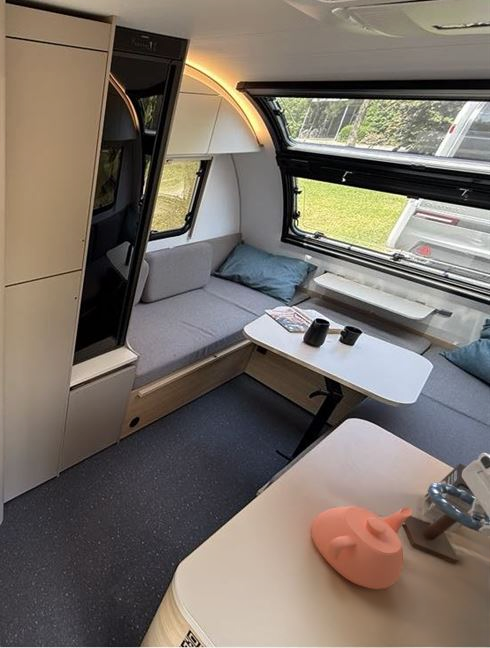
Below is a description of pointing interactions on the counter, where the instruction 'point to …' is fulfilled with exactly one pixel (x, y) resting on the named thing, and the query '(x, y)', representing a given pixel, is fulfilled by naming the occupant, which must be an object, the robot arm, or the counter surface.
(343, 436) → the counter surface
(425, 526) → the post
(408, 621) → the counter surface
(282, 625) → the counter surface
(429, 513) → the coffee box
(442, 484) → the ring
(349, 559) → the teapot
